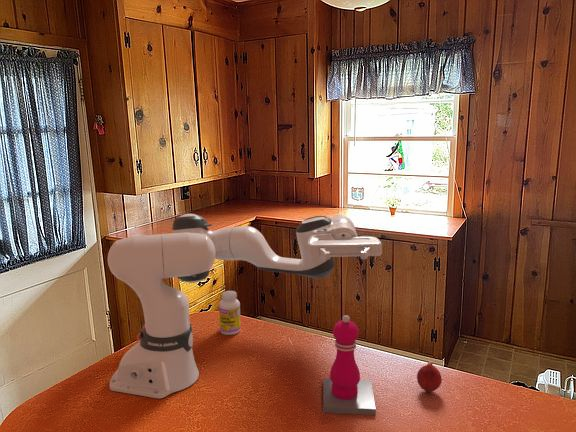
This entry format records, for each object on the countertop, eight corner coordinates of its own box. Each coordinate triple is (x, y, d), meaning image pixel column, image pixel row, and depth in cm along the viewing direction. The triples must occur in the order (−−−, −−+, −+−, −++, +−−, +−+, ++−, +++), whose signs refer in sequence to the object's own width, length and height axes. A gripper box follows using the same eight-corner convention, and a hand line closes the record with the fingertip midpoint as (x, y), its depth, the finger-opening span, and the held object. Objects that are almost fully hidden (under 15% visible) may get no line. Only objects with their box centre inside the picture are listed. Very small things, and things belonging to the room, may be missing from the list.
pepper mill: (340, 404, 107) (342, 324, 102) (324, 388, 113) (324, 313, 109) (365, 395, 110) (368, 318, 106) (348, 381, 116) (349, 307, 112)
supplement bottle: (216, 334, 145) (215, 296, 142) (224, 325, 151) (222, 288, 149) (236, 336, 144) (235, 298, 141) (243, 327, 150) (242, 290, 147)
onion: (441, 400, 111) (443, 369, 109) (417, 397, 112) (418, 367, 110) (439, 386, 116) (441, 357, 114) (415, 384, 117) (417, 355, 116)
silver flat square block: (323, 412, 106) (323, 406, 106) (323, 383, 118) (323, 378, 118) (375, 414, 105) (375, 409, 105) (370, 385, 117) (370, 379, 117)
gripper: (379, 250, 132) (386, 267, 119) (308, 251, 133) (307, 268, 120) (379, 229, 130) (386, 244, 117) (307, 230, 132) (306, 245, 119)
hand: (345, 256), depth 119 cm, fingers open, 8 cm apart
